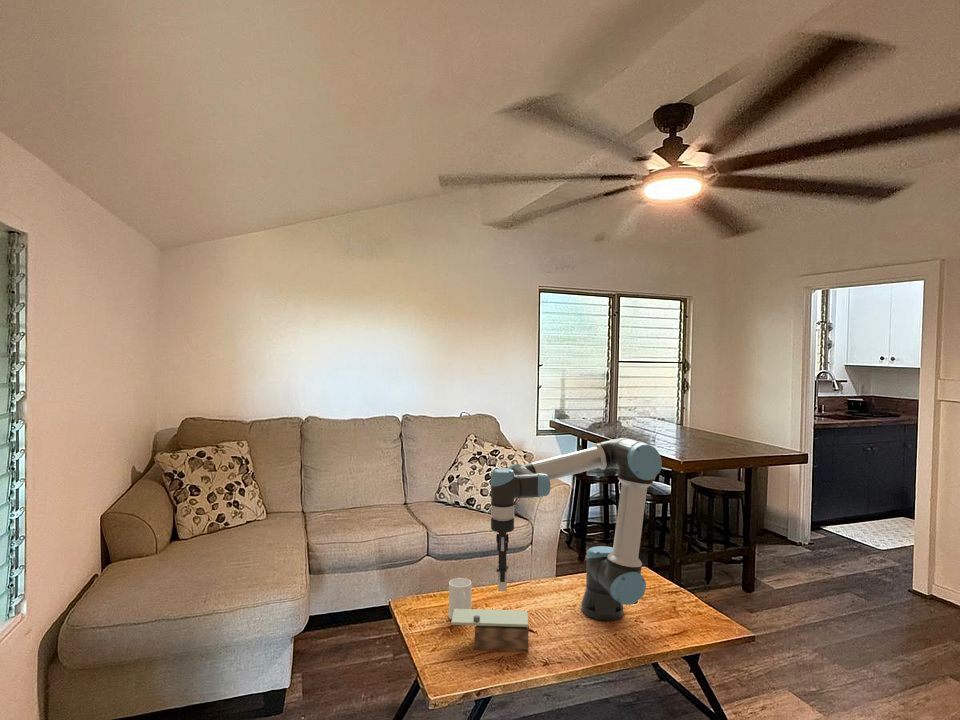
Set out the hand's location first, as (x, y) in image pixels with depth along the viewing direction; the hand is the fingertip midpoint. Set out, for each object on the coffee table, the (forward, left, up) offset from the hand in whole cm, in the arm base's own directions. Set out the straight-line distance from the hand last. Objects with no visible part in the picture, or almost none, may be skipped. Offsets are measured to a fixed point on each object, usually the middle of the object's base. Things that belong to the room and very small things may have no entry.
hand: (502, 590), depth 171 cm
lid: (+4, -2, -11) cm, 12 cm away
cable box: (0, -1, -18) cm, 18 cm away
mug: (+15, -17, -18) cm, 29 cm away
